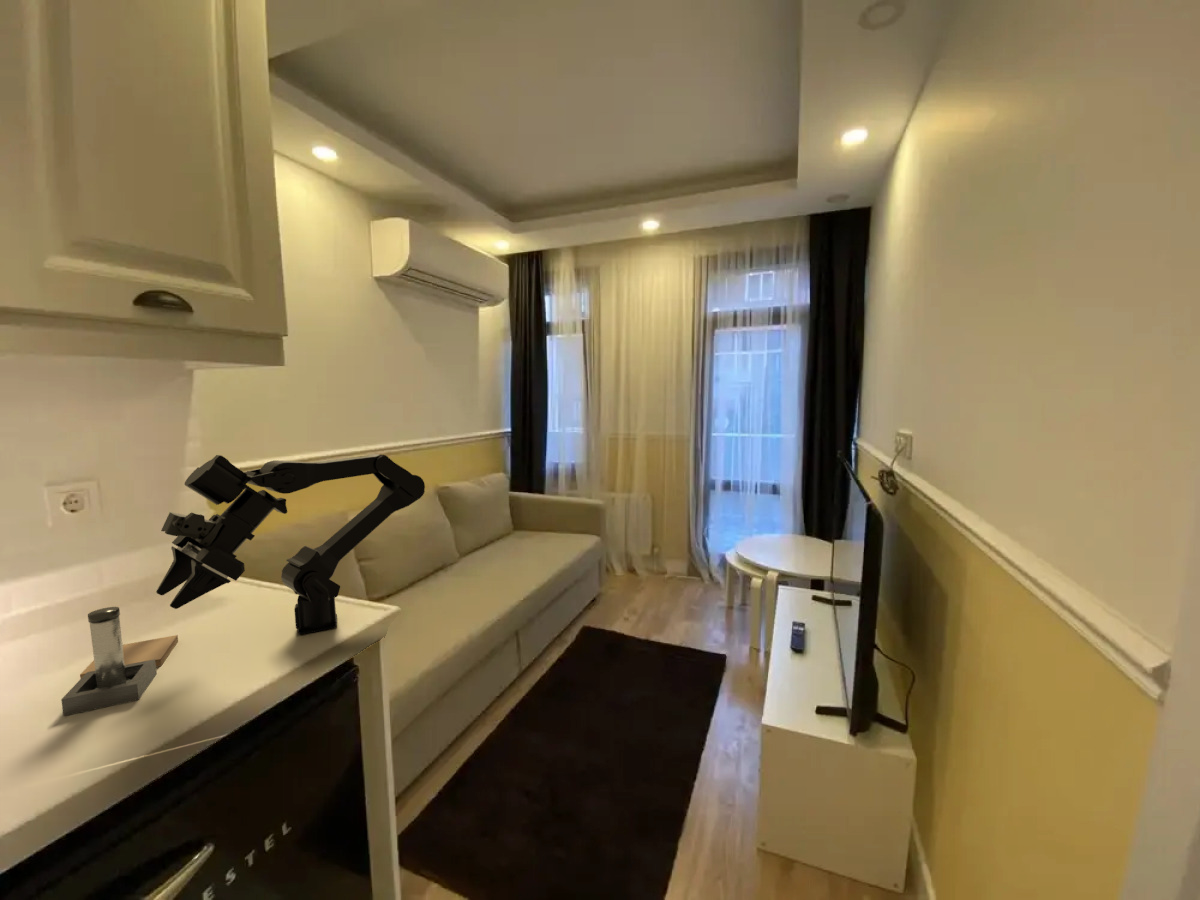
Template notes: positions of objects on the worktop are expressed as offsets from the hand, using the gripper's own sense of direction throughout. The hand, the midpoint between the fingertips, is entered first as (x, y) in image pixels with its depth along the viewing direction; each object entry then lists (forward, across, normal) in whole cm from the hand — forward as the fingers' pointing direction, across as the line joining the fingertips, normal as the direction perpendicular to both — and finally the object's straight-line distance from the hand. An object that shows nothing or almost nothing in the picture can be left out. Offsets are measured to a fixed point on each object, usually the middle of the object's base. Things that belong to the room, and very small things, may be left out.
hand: (165, 600), depth 81 cm
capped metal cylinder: (+14, 0, +4) cm, 14 cm away
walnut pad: (+11, -11, +6) cm, 17 cm away
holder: (+14, 0, +4) cm, 14 cm away
